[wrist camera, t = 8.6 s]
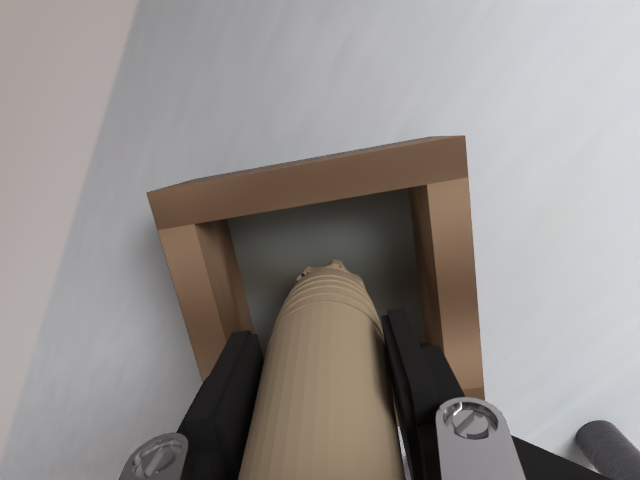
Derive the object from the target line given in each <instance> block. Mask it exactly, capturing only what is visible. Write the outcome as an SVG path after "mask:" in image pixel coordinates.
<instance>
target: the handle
mask: <svg viewBox="0 0 640 480" xmlns="http://www.w3.org/2000/svg"><path fill="white" fill-rule="evenodd" d="M238 480H406V479H405V473H404V466H403V460H402V454H401V447H400V441H399V435H398V428H397V421H396V414H395V406H394V399H393V392H392V384H391V377H390V369H389V362H388V357H387V352H386V347H385V341H384V336H383V332H382V328H381V324H380V321H379V318H378V315H377V312H376V310H375V308H374V305H373V303H372V301H371V299H370V297H369V295H368V293H367V292H366V288H365V286H364V283H363V281H362V279H361V278H360V277H359V276H358V275H355V274H352V273H351V272H349V271H348V270H347V269H346V268H345V267H344V265H343V263H342V262H341V261H339V260H335V259H332V260H331V261H330V262H328V263H326V264H324V265H322V266H318V267H310V266H308V267H306V268H305V269H304V270H303V271H301V273H300V274H299V275H298V277H297V279H296V281H295V286H294V287H293V288H292V290H291V291H290V293H289V294H288V296H287V298H286V300H285V302H284V304H283V306H282V308H281V310H280V312H279V315H278V317H277V320H276V322H275V325H274V328H273V331H272V334H271V337H270V340H269V343H268V346H267V349H266V354H265V358H264V363H263V368H262V373H261V377H260V382H259V387H258V392H257V396H256V401H255V406H254V410H253V415H252V420H251V424H250V429H249V433H248V438H247V442H246V447H245V451H244V455H243V460H242V464H241V469H240V473H239V477H238Z"/></svg>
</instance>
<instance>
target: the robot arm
mask: <svg viewBox="0 0 640 480" xmlns="http://www.w3.org/2000/svg"><path fill="white" fill-rule="evenodd" d="M381 321H382V327H383V334H384V341H385V347H386V352H387V357H388V362H389V369H390V377H391V384H392V392H393V399H394V404H395V408H396V413H397V417H398V421H399V426H400V430H401V435H402V439H403V444H404V448H405V452H406V457H407V461H408V466H409V470H410V474H411V479H412V480H612V479H610V478H608V477H606V476H603V475H601V474H599V473H596V472H594V471H592V470H590V469H587V468H585V467H583V466H580V465H578V464H576V463H574V462H571V461H569V460H567V459H565V458H562V457H560V456H558V455H555V454H553V453H551V452H549V451H546V450H544V449H542V448H539V447H537V446H535V445H533V444H530V443H528V442H526V441H524V440H521V439H519V438H517V437H514V436H512V435H511V434H510V431H509V428H508V425H507V422H506V420H505V418H504V416H503V414H502V413H501V412H500V411H499V410H498V409H497V408H496V407H495V406H494V405H492V404H490V403H488V402H486V401H484V400H480V399H477V398H470V397H466V396H465V394H464V392H463V390H462V389H461V387H460V385H459V383H458V381H457V379H456V377H455V375H454V373H453V371H452V369H451V367H450V365H449V363H448V361H447V359H446V357H445V355H444V353H443V351H442V349H441V348H440V346H439V345H436V346H429V347H420V345H419V342H418V340H417V337H416V335H415V333H414V330H413V328H412V325H411V323H410V320H409V318H408V316H407V313H406V311H405V309H404V308H399V309H392V310H387V315H382V316H381ZM263 363H264V359H263V355H262V351H261V347H260V343H259V339H258V336H257V334H252V333H251V331H250V330H246V331H239V332H232V334H231V335H230V337H229V339H228V341H227V343H226V345H225V347H224V348H223V350H222V352H221V354H220V356H219V358H218V360H217V362H216V363H215V365H214V367H213V369H212V371H211V373H210V375H209V376H208V377H207V378H206V379H205V380H204V382H203V384H202V386H201V388H200V390H199V391H198V393H197V395H196V397H195V399H194V401H193V403H192V404H191V406H190V408H189V410H188V412H187V414H186V415H185V417H184V419H183V421H182V423H181V425H180V427H179V428H178V430H177V432H176V433H168V434H163V435H160V436H157V437H155V438H153V439H151V440H149V441H148V442H146V443H145V444H143V445H142V446H141V447H139V448H138V449H137V450H136V451H135V452H134V453H133V454H132V455H131V456H130V458H129V459H128V461H127V463H126V464H125V467H124V469H123V471H122V473H121V475H120V478H119V480H238V477H239V473H240V469H241V464H242V460H243V455H244V451H245V447H246V442H247V438H248V433H249V429H250V424H251V420H252V415H253V410H254V406H255V401H256V396H257V392H258V387H259V382H260V377H261V373H262V368H263Z"/></svg>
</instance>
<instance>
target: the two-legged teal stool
mask: <svg viewBox="0 0 640 480" xmlns="http://www.w3.org/2000/svg"><path fill="white" fill-rule="evenodd" d="M576 443H577V445H578V447H579V448H580V450H581V451H582V452H583V453H584V455H585V456H586V457H587V458H588V460H589V461H590V462H591V463H592V465H593V466H594V467H595V468H596V470H597V471H598V472H599V474H601V475H603V476H606V477H608V478H610V479H612V480H640V452H639V450H638V449H637V448H636V447H635V446H634V445H633V444H632V443H631V442H630V441H629V440H628V439H627V438H626V437H625V436H624V435H623V434H622V433H621V432H620V431H619V430H618V429H617V428H616V427H615V426H614V425H613V424H611V423H610V422H607V421H593V422H590V423H588V424H586V425H584V426H583V427H582V428H581V429H580V430H579V432H578V433H577V436H576Z"/></svg>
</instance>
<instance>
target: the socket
mask: <svg viewBox="0 0 640 480" xmlns="http://www.w3.org/2000/svg"><path fill="white" fill-rule="evenodd" d="M147 196H148V200H149V203H150V206H151V210H152V213H153V216H154V220H155V223H156V226H157V230H158V233H159V237H160V240H161V243H162V247H163V250H164V253H165V257H166V260H167V263H168V267H169V270H170V274H171V277H172V280H173V284H174V287H175V290H176V294H177V297H178V301H179V304H180V307H181V311H182V314H183V317H184V321H185V324H186V327H187V331H188V334H189V338H190V341H191V344H192V348H193V351H194V354H195V358H196V361H197V364H198V368H199V371H200V375H201V378H202V381H203V382H204V380H205V379H206V378H207V377H208V376H209V375H210V373H211V371H212V369H213V367H214V365H215V363H216V362H217V360H218V358H219V356H220V354H221V352H222V350H223V348H224V347H225V345H226V343H227V341H228V339H229V337H230V335H231V334H232V332H239V331H246V330H250V331H251V333H252V334H257V336H258V339H259V343H260V347H261V351H262V355H263V359H264V358H265V354H266V349H267V346H268V343H269V340H270V337H271V334H272V331H273V328H274V325H275V322H276V320H277V317H278V315H279V312H280V310H281V308H282V306H283V304H284V302H285V300H286V298H287V296H288V294H289V293H290V291H291V290H292V288H293V287H294V286H295V281H296V279H297V277H298V275H299V274H300V273H301V271H303V270H304V269H305V268H306V267H308V266H310V267H318V266H322V265H324V264H326V263H328V262H330V261H331V260H332V259H335V260H339V261H341V262H342V263H343V265H344V267H345V268H346V269H347V270H348V271H349V272H351V273H352V274H355V275H358V276H359V277H360V278H361V279H362V281H363V283H364V286H365V288H366V292H367V293H368V295H369V297H370V299H371V301H372V303H373V305H374V308H375V310H376V312H377V315H378V318H379V321H380V324H381V328H382V332H383V327H382V321H381V316H382V315H387V310H392V309H399V308H404V309H405V311H406V313H407V316H408V318H409V320H410V323H411V325H412V328H413V330H414V333H415V335H416V337H417V340H418V342H419V345H420V347H429V346H436V345H439V346H440V348H441V349H442V351H443V353H444V355H445V357H446V359H447V361H448V363H449V365H450V367H451V369H452V371H453V373H454V375H455V377H456V379H457V381H458V383H459V385H460V387H461V389H462V390H463V392H464V394H465V396H466V397H470V398H477V399H480V400H484V401H485V395H484V382H483V368H482V355H481V342H480V328H479V315H478V301H477V288H476V275H475V261H474V248H473V234H472V221H471V208H470V194H469V181H468V168H467V154H466V141H465V136H436V137H426V138H420V139H415V140H409V141H404V142H398V143H392V144H387V145H381V146H376V147H370V148H365V149H359V150H354V151H348V152H343V153H337V154H331V155H326V156H320V157H315V158H309V159H304V160H298V161H293V162H287V163H282V164H276V165H270V166H265V167H259V168H254V169H248V170H243V171H237V172H232V173H226V174H221V175H215V176H210V177H204V178H198V179H193V180H190V181H186V182H183V183H179V184H176V185H172V186H168V187H165V188H161V189H158V190H154V191H151V192H147ZM383 336H384V334H383ZM394 406H395V404H394ZM395 414H396V421H397V427H398V426H399V421H398V417H397V413H396V408H395Z"/></svg>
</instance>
